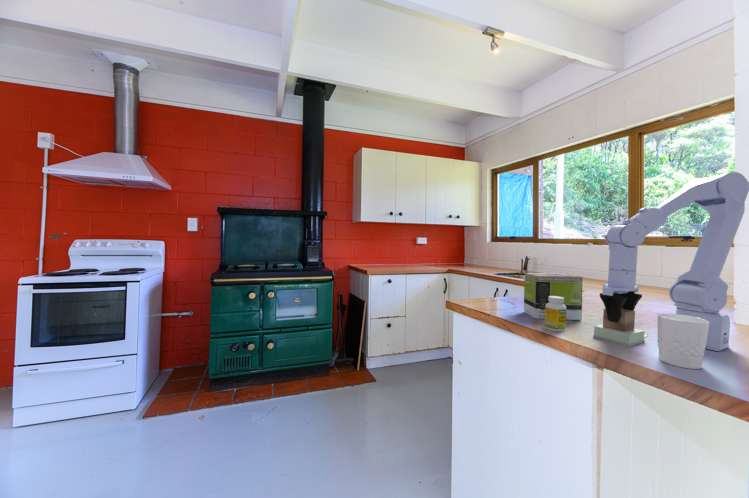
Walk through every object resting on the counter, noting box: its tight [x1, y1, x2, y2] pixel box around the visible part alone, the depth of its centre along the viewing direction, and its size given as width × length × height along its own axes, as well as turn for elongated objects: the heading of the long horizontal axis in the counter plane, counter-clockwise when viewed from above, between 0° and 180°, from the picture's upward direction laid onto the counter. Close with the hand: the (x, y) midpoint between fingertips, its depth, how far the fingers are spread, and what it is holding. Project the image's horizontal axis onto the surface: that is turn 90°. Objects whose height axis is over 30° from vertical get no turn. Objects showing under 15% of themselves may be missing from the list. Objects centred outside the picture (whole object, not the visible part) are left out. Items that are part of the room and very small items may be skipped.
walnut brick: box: [602, 307, 636, 332], centre depth 82 cm, size 5×5×5 cm
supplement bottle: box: [544, 296, 567, 332], centre depth 90 cm, size 5×5×10 cm
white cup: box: [657, 312, 709, 370], centre depth 66 cm, size 8×8×10 cm
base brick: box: [592, 323, 646, 347], centre depth 82 cm, size 8×8×3 cm
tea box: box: [523, 272, 583, 321], centre depth 105 cm, size 15×10×15 cm
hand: (619, 320), depth 82 cm, fingers open, 6 cm apart
